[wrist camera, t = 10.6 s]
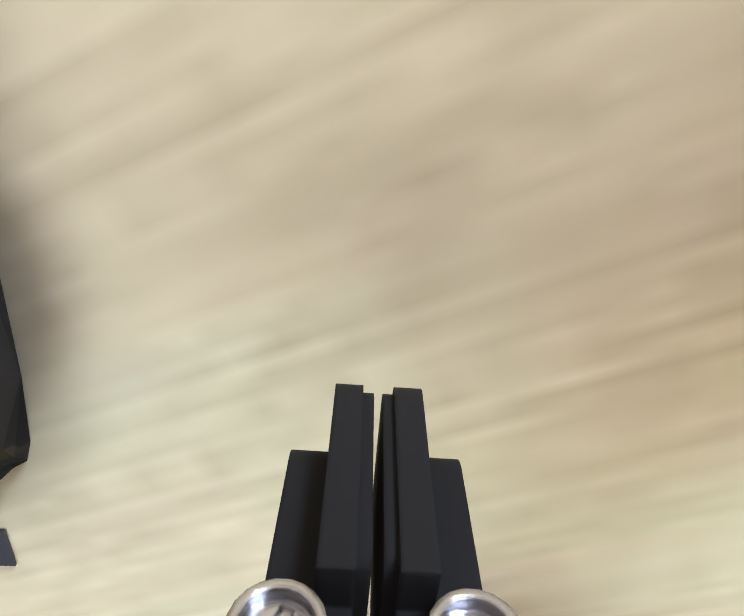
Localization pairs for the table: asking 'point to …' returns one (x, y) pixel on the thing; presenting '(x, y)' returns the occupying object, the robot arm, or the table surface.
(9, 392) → the baking dish
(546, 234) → the table surface
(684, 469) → the table surface
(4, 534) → the tape outline
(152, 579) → the table surface
